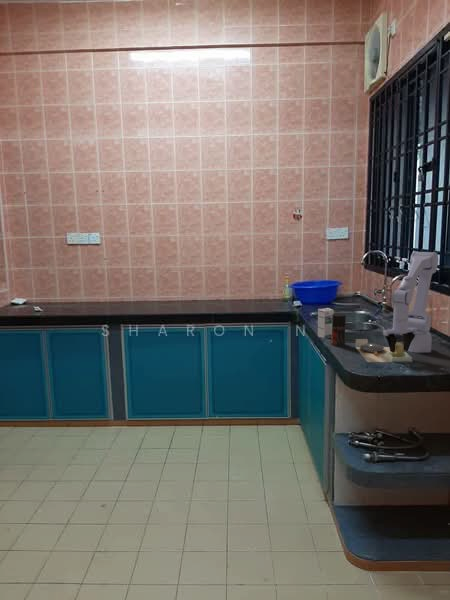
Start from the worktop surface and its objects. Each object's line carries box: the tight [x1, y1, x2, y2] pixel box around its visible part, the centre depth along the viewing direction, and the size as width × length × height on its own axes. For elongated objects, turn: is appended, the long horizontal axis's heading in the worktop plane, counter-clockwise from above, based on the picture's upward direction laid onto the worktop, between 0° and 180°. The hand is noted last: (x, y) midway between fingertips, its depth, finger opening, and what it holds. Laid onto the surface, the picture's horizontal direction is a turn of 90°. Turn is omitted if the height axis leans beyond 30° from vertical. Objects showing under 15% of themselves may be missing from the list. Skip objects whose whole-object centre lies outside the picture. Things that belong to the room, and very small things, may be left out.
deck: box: [355, 346, 393, 363], centre depth 188 cm, size 18×22×1 cm
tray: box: [386, 351, 413, 363], centre depth 181 cm, size 8×8×2 cm
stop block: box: [392, 342, 404, 357], centre depth 181 cm, size 3×3×6 cm
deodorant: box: [331, 313, 347, 347], centre depth 203 cm, size 6×6×15 cm
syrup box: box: [317, 307, 335, 339], centre depth 220 cm, size 6×6×14 cm
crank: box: [354, 338, 385, 355], centre depth 193 cm, size 13×12×4 cm
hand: (399, 351), depth 181 cm, fingers open, 6 cm apart
